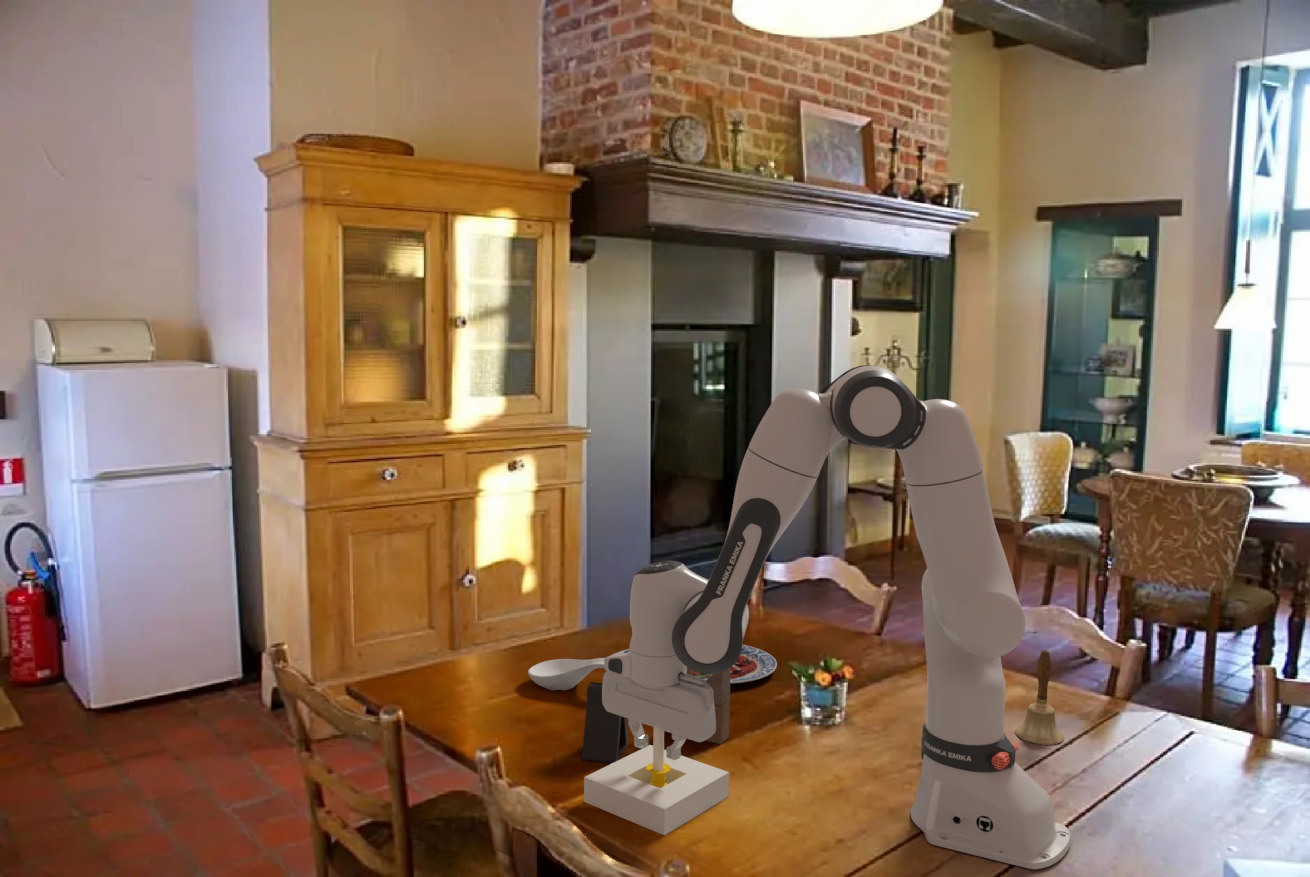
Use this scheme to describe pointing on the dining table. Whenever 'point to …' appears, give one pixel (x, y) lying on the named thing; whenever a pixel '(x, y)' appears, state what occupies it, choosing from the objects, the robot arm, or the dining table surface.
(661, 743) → the candle
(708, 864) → the dining table surface
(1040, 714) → the hand bell
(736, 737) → the dining table surface
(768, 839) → the dining table surface
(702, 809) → the hole board
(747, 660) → the ceramic plate
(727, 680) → the wooden block
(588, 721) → the phone stand
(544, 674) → the spoon rest
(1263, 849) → the dining table surface
